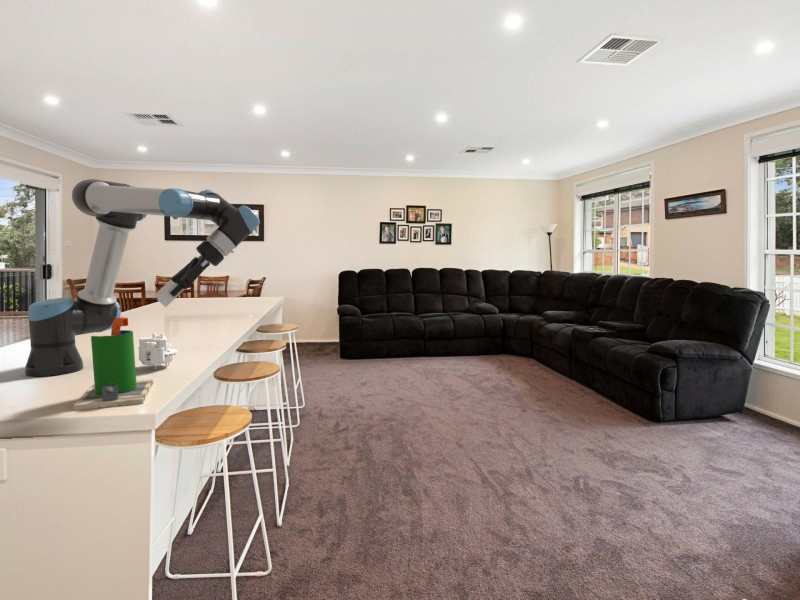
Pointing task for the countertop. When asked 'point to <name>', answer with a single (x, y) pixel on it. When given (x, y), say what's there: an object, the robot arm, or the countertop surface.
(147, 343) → the mechanical part
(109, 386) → the knobbed dark grey block
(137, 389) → the mount plate
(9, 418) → the countertop surface
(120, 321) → the green plastic cylinder
